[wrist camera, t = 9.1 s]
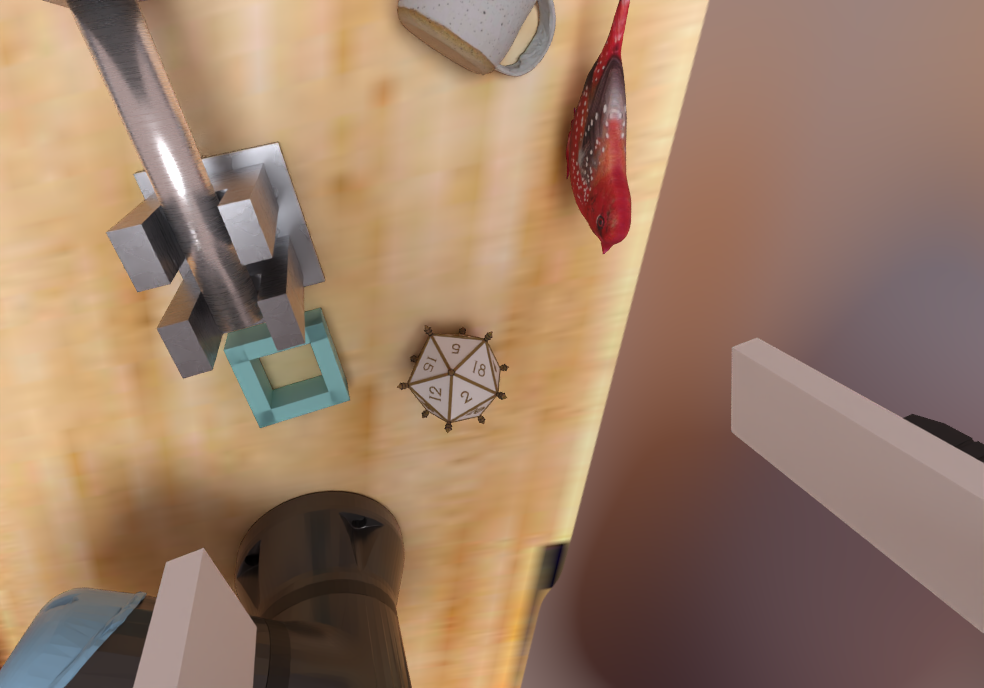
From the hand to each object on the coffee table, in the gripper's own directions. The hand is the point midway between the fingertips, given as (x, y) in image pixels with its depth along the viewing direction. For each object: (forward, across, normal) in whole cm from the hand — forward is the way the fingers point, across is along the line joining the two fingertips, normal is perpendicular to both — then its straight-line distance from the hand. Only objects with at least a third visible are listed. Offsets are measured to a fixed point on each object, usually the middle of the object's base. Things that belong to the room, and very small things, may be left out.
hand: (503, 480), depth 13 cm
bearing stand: (+32, +8, -1) cm, 33 cm away
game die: (+32, -3, +14) cm, 35 cm away
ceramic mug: (+32, -12, -11) cm, 36 cm away
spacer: (+31, +9, +6) cm, 33 cm away
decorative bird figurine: (+32, -18, -3) cm, 37 cm away
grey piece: (+26, +8, -8) cm, 28 cm away
